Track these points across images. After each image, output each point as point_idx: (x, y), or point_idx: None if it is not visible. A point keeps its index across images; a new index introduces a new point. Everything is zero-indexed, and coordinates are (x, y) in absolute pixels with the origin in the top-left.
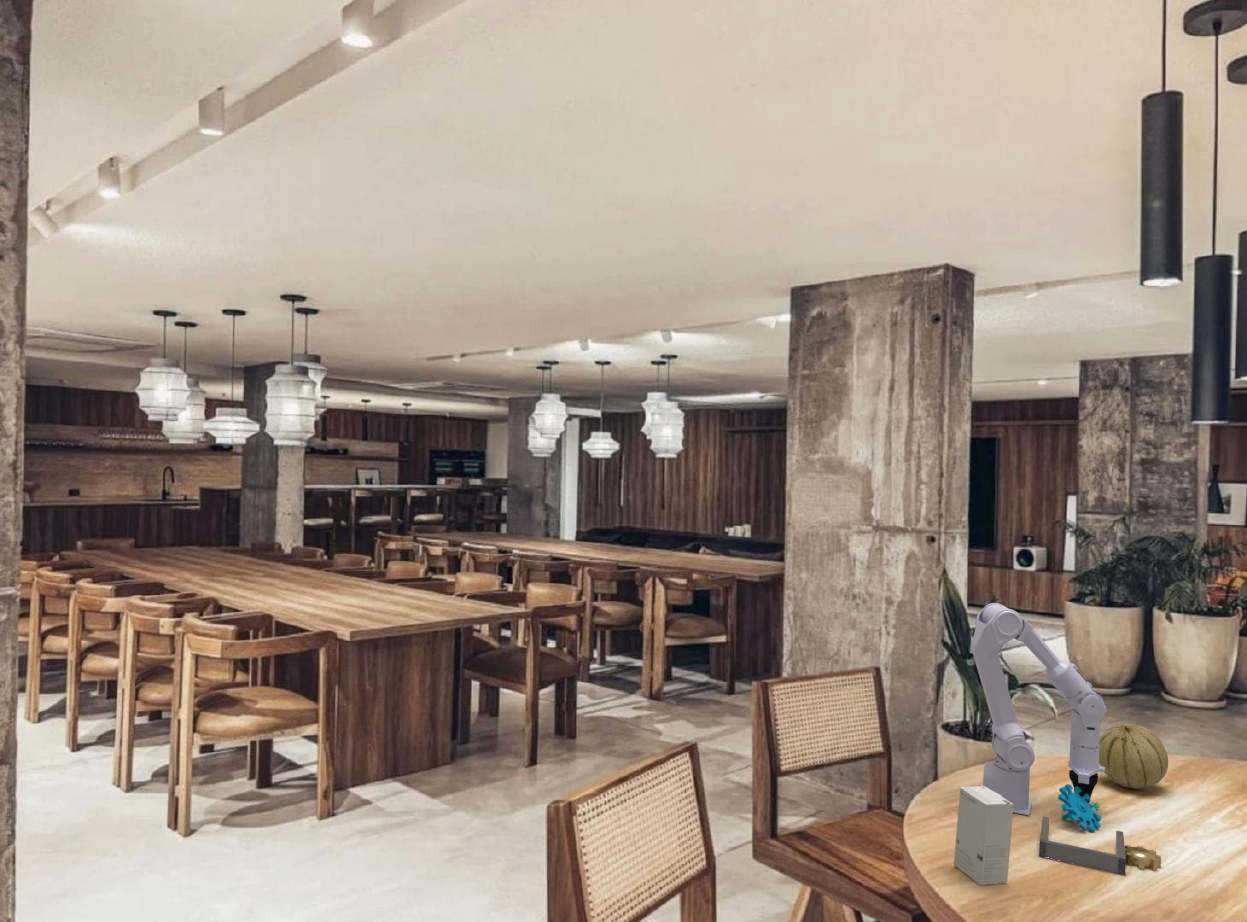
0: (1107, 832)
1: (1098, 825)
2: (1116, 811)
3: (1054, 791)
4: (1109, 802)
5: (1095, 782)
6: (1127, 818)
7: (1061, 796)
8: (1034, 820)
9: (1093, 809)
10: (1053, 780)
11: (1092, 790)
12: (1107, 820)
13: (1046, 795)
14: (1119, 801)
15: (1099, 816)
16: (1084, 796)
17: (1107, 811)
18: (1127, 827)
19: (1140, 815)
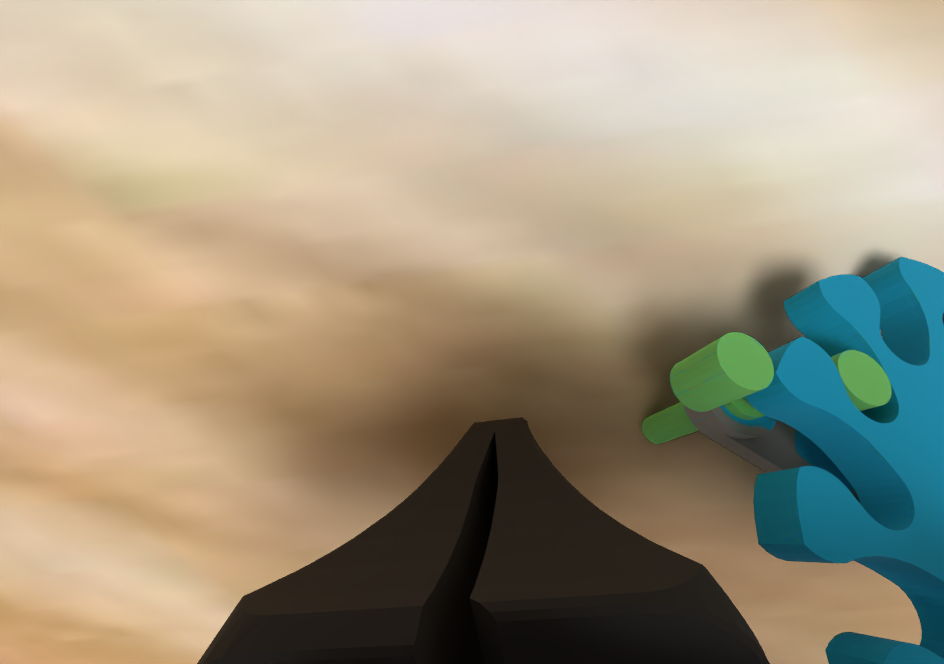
0: (907, 196)
1: (933, 279)
2: (281, 215)
3: (227, 613)
4: (115, 295)
5: (737, 613)
6: (387, 101)
7: None
8: None
9: (874, 380)
10: (32, 635)
11: (596, 508)
12: (571, 244)
13: None
14: (19, 232)
15: (842, 300)
16: (890, 557)
17: (341, 277)
18: (644, 57)
19: (207, 7)
